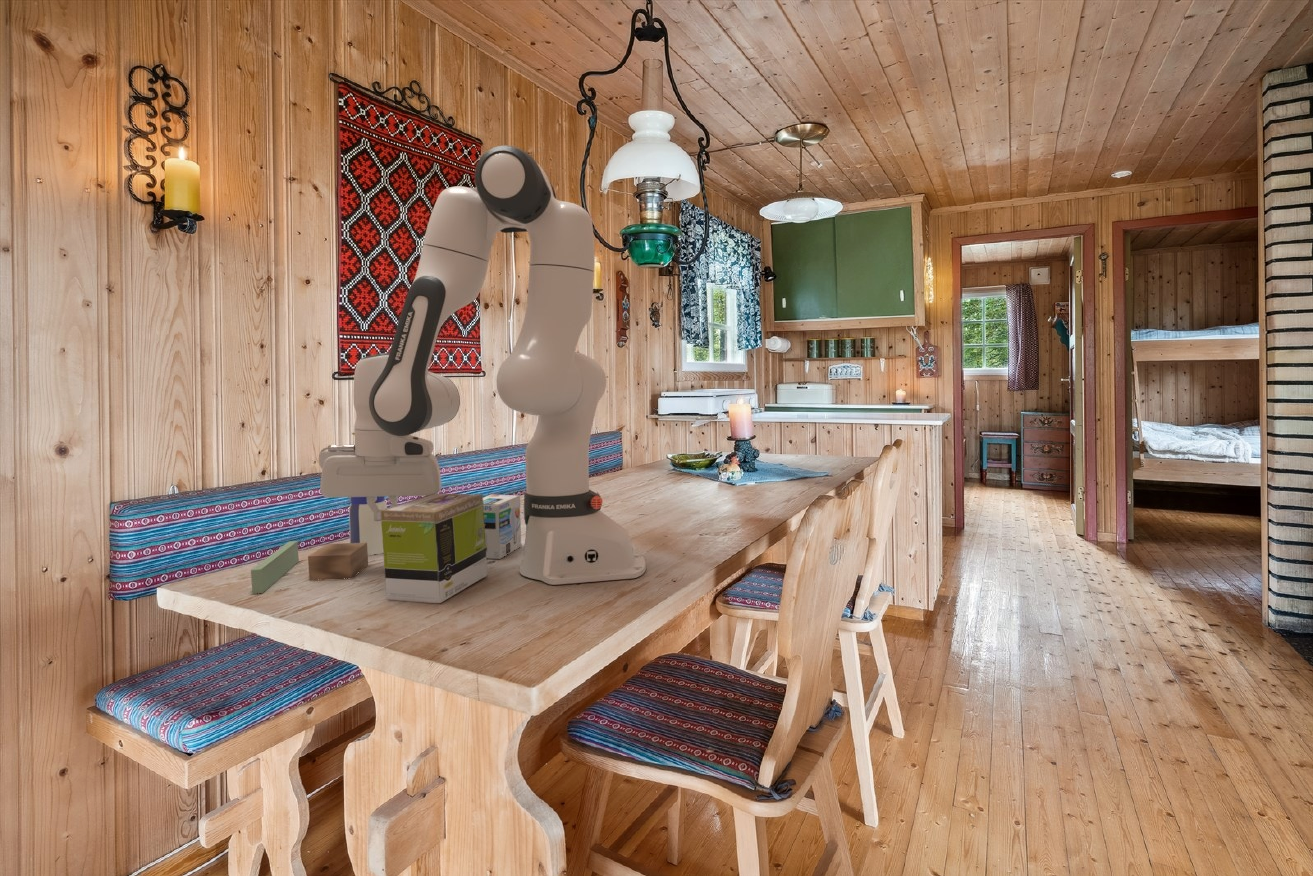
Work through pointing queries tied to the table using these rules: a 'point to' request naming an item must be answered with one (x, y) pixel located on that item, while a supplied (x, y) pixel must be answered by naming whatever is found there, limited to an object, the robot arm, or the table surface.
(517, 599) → the table surface
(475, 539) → the tea box
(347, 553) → the walnut block
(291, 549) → the green board
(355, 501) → the water bottle
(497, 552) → the light bulb box
